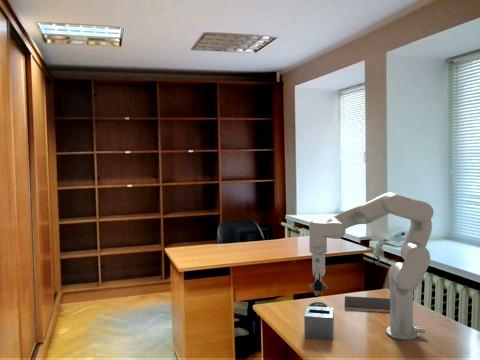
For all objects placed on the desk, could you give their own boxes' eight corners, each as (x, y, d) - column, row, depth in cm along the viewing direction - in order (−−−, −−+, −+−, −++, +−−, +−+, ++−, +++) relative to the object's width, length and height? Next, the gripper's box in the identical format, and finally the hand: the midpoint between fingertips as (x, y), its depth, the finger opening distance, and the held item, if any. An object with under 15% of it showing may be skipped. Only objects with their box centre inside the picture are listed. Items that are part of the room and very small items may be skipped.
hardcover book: (392, 313, 211) (392, 309, 211) (344, 310, 217) (344, 306, 217) (389, 302, 227) (389, 298, 227) (344, 299, 232) (344, 295, 232)
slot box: (333, 329, 194) (333, 307, 194) (332, 340, 183) (332, 318, 182) (307, 326, 197) (307, 305, 197) (304, 338, 186) (304, 316, 185)
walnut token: (327, 287, 189) (320, 278, 189) (327, 288, 187) (320, 279, 187) (316, 294, 190) (309, 285, 191) (316, 296, 188) (309, 286, 189)
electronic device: (327, 320, 208) (328, 305, 222) (325, 310, 207) (326, 295, 221) (308, 321, 210) (310, 306, 225) (306, 311, 210) (308, 297, 224)
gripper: (325, 253, 179) (326, 296, 180) (327, 245, 194) (328, 284, 195) (307, 252, 181) (308, 295, 182) (311, 244, 196) (311, 283, 197)
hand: (318, 289), depth 189 cm, fingers closed on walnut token, 1 cm apart
